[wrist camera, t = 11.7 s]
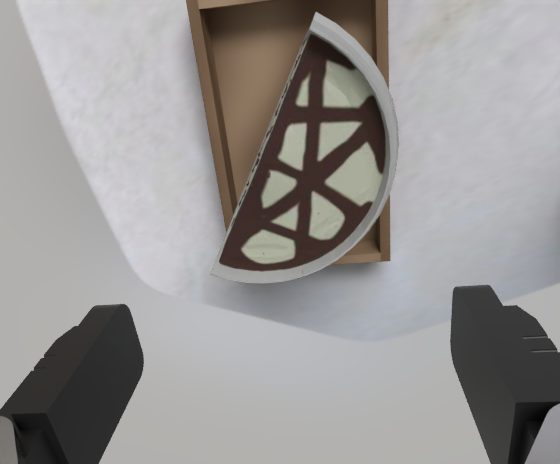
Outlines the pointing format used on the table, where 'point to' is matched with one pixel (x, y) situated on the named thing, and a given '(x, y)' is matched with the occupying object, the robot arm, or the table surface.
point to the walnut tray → (271, 82)
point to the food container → (315, 165)
